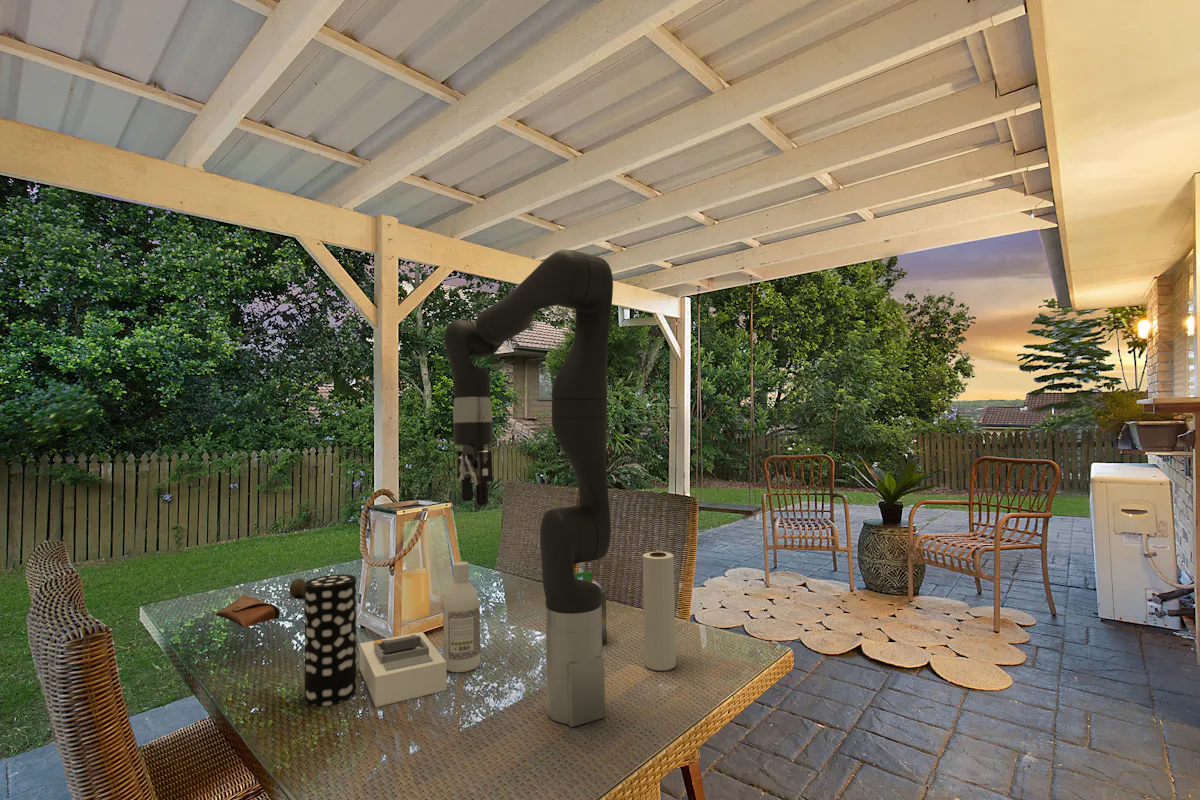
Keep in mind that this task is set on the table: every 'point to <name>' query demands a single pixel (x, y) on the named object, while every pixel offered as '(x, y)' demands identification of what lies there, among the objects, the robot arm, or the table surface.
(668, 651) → the paper towel roll
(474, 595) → the bath foam
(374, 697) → the switch box
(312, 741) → the table surface
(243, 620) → the sunglasses case
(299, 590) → the kendama
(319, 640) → the spotted tube
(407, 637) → the rocker paddle
